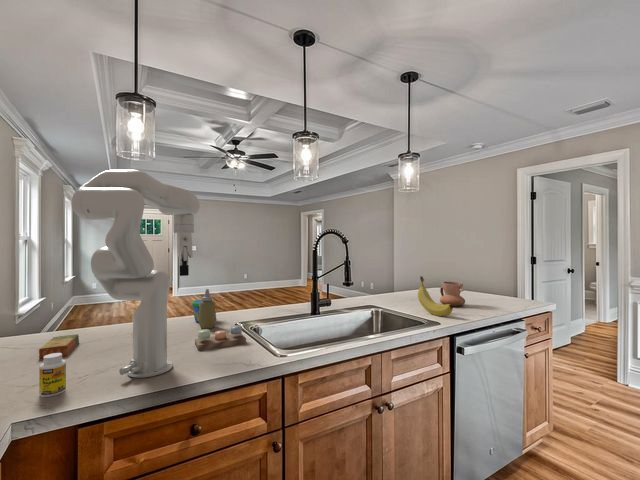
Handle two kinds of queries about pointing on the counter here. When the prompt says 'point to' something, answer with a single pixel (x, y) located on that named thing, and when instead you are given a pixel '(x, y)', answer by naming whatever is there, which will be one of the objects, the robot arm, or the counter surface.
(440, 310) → the banana
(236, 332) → the button slate
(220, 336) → the button terracotta
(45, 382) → the supplement bottle
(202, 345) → the button board
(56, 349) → the carton
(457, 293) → the ceramic jug
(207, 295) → the squeeze bottle
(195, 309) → the snack cup
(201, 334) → the button sage
